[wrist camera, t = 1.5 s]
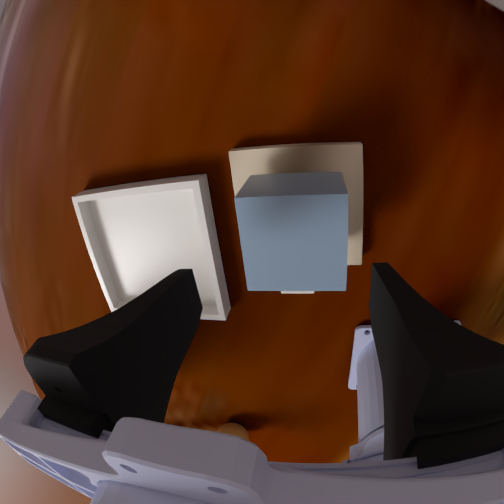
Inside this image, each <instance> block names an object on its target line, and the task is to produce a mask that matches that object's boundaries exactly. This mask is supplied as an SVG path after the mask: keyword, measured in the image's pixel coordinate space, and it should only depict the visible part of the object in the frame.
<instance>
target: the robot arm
mask: <svg viewBox="0 0 504 504" xmlns="http://www.w3.org/2000/svg"><path fill="white" fill-rule="evenodd" d="M202 309H203V306H202V303H201V299H200V296H199V292H198V288H197V285H196V281H195V277H194V274H193V270H192V269H178V270H176V271H174V272H173V273H171V274H170V275H168V276H167V277H165V278H164V279H162V280H161V281H159V282H158V283H157V284H155V285H154V286H152V287H151V288H149V289H148V290H147V291H145V292H144V293H142V294H141V295H139V296H138V297H136V298H134V299H133V300H131V301H130V302H128V303H127V304H125V305H124V306H122V307H120V308H118V309H117V310H115V311H113V312H111V313H109V314H107V315H105V316H103V317H101V318H99V319H96V320H94V321H92V322H90V323H87V324H85V325H83V326H80V327H77V328H74V329H71V330H68V331H65V332H62V333H58V334H54V335H50V336H46V337H41V338H38V339H37V340H36V342H35V343H34V344H33V345H32V346H31V348H30V349H29V350H28V351H27V352H26V354H25V355H24V357H23V358H24V364H25V366H26V369H27V370H28V372H29V374H30V375H31V377H32V378H33V379H34V381H35V382H36V383H37V385H38V386H39V387H40V388H41V390H42V391H43V392H44V394H45V395H46V396H45V397H44V399H43V400H41V399H40V398H39V397H37V396H36V395H33V394H31V393H29V392H26V391H24V390H21V391H20V392H19V393H18V395H17V396H16V398H15V399H14V400H13V402H12V403H11V405H10V406H9V408H8V409H7V410H6V412H5V413H4V415H3V416H2V418H1V419H0V437H1V438H2V439H3V440H4V441H5V442H6V443H7V444H8V445H9V446H10V447H11V448H12V449H13V450H15V451H16V452H17V453H18V454H19V455H20V456H21V457H23V458H24V459H25V460H26V461H27V462H28V463H30V464H32V465H33V466H35V467H37V468H38V469H40V470H41V471H43V472H45V473H46V474H48V475H50V476H51V477H53V478H55V479H57V480H59V481H60V482H62V483H64V484H65V485H67V486H69V487H71V488H73V489H75V490H76V491H79V492H80V493H82V494H84V495H86V496H88V497H90V498H92V500H91V503H90V504H504V345H503V344H500V343H497V342H495V341H492V340H489V339H487V338H485V337H483V336H480V335H478V334H476V333H474V332H472V331H470V330H468V329H466V328H465V327H463V326H461V323H460V321H459V320H454V321H453V320H451V319H450V318H448V317H447V316H445V315H444V314H443V313H441V312H440V311H439V310H437V309H436V308H435V307H433V306H432V305H431V304H430V303H428V302H427V301H426V300H425V299H424V298H423V297H421V296H420V295H419V294H418V293H417V292H416V291H415V290H414V289H413V288H412V287H411V286H410V285H409V284H408V283H407V282H406V281H405V280H404V279H403V278H402V277H401V276H400V275H399V274H398V273H397V272H396V271H395V270H394V269H393V268H392V267H391V266H390V265H389V264H388V263H372V275H371V289H370V301H369V310H370V320H371V325H360V326H358V327H356V329H355V334H354V344H353V352H352V360H351V368H350V375H349V382H348V388H349V389H357V394H358V444H356V445H352V446H350V459H348V460H345V461H342V462H341V463H324V464H318V463H283V462H268V461H267V457H266V455H265V454H264V453H263V452H262V451H261V450H260V449H259V448H258V446H257V445H256V444H254V443H252V442H249V441H247V440H245V439H243V438H241V437H238V436H233V435H229V434H225V433H220V432H213V431H206V430H199V429H193V428H187V427H181V426H175V425H170V424H165V423H164V419H165V415H166V410H167V406H168V403H169V399H170V395H171V392H172V388H173V385H174V382H175V378H176V375H177V373H178V370H179V368H180V366H181V363H182V361H183V359H184V357H185V354H186V352H187V350H188V348H189V346H190V343H191V341H192V339H193V337H194V334H195V332H196V330H197V327H198V324H199V321H200V317H201V313H202ZM366 330H369V331H368V332H365V331H366Z"/></svg>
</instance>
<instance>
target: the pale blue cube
mask: <svg viewBox="0 0 504 504" xmlns="http://www.w3.org/2000/svg"><path fill="white" fill-rule="evenodd" d="M234 200H235V207H236V214H237V221H238V228H239V235H240V241H241V248H242V255H243V262H244V269H245V275H246V282H247V289H248V291H281V293H314V291H346V279H347V253H348V192H347V188H346V185H345V182H344V178H343V175H342V172H304V173H280V174H261V175H250V177H249V178H248V179H247V181H246V182H245V184H244V185H243V186H242V188H241V189H240V191H239V192H238V193H237V195H236V196H235V198H234Z"/></svg>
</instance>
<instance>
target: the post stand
mask: <svg viewBox="0 0 504 504" xmlns="http://www.w3.org/2000/svg"><path fill="white" fill-rule="evenodd" d="M229 159H230V166H231V173H232V180H233V187H234V194H235V196H236V195H237V193H238V192H239V191H240V189H241V188H242V186H243V185H244V184H245V182H246V181H247V179H248V178H249V177H250V175H261V174H280V173H304V172H342V175H343V178H344V182H345V185H346V188H347V192H348V253H347V265H361V264H362V242H363V146H362V143H361V142H326V143H301V144H284V145H269V146H256V147H245V148H234V149H231V150H230V151H229Z"/></svg>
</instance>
